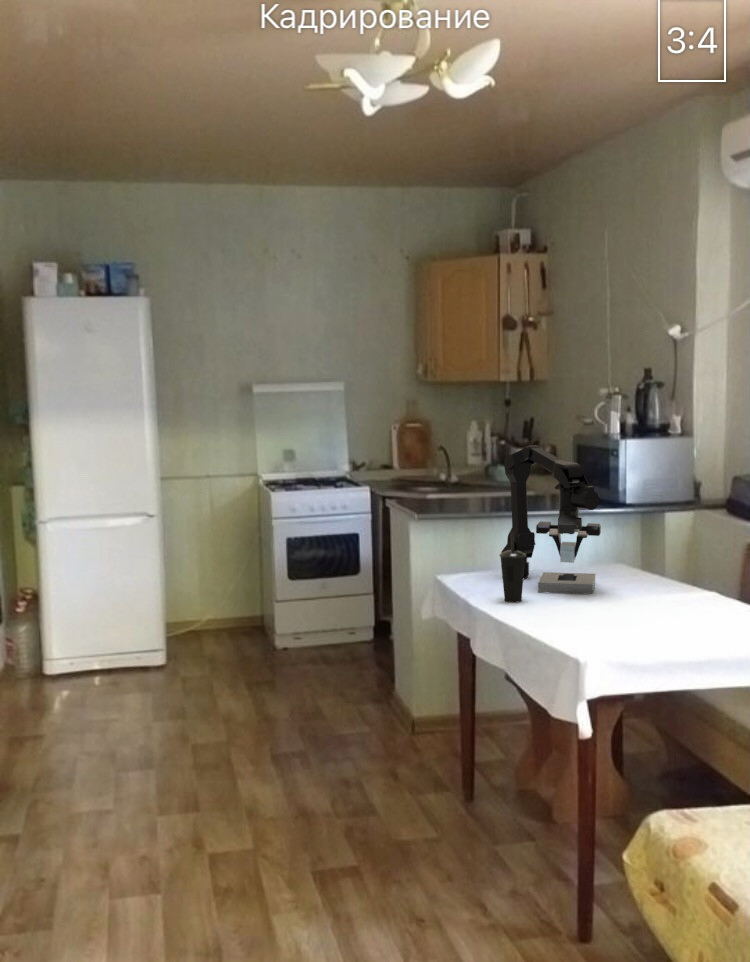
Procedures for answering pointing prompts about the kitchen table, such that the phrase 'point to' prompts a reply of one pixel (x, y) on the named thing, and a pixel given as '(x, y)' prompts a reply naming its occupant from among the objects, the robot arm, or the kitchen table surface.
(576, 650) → the kitchen table surface
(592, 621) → the kitchen table surface
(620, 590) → the kitchen table surface
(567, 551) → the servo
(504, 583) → the drinking cup
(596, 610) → the kitchen table surface
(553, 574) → the grey square base plate
